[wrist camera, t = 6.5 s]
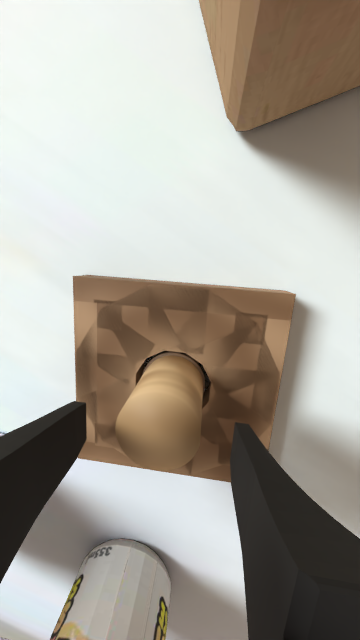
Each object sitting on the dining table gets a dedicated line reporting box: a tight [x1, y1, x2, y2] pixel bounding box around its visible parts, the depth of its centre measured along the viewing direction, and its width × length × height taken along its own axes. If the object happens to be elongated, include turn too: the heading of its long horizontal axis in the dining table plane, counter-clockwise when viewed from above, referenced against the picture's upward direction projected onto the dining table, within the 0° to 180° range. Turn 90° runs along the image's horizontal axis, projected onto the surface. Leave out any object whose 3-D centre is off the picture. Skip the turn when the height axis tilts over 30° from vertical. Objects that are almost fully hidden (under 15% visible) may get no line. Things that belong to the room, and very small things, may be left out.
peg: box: [115, 351, 205, 471], centre depth 14 cm, size 4×4×7 cm
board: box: [73, 275, 296, 482], centre depth 17 cm, size 13×13×2 cm
